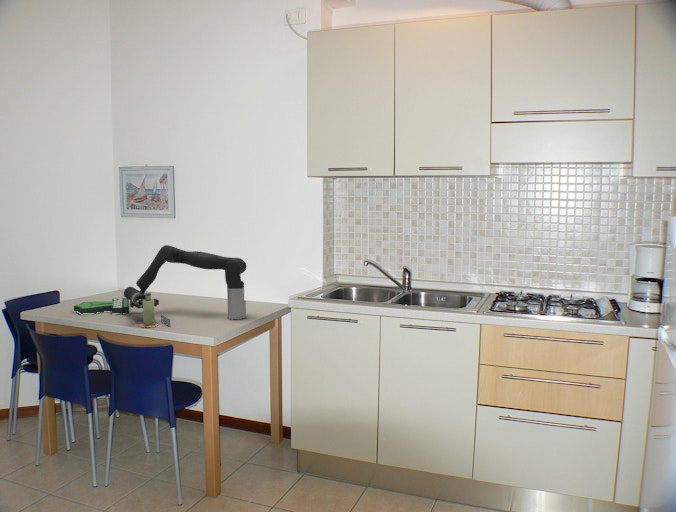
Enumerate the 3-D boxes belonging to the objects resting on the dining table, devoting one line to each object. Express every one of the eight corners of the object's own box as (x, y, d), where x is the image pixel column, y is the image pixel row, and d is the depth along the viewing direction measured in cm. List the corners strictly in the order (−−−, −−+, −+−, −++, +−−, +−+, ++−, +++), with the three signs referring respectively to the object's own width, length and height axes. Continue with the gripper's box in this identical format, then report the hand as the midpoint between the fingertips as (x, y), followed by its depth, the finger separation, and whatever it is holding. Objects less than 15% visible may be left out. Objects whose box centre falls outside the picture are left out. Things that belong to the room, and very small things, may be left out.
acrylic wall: (163, 321, 307) (162, 313, 306) (170, 326, 295) (170, 319, 294) (161, 321, 306) (161, 314, 306) (168, 326, 294) (168, 319, 294)
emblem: (129, 307, 324) (71, 311, 313) (129, 314, 324) (71, 318, 314) (128, 297, 352) (75, 301, 341) (128, 304, 352) (76, 307, 342)
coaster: (155, 323, 302) (155, 322, 302) (160, 326, 295) (160, 325, 294) (138, 325, 297) (138, 324, 297) (142, 328, 290) (142, 327, 290)
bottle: (153, 323, 300) (152, 291, 298) (156, 325, 295) (154, 293, 293) (142, 324, 297) (141, 292, 295) (145, 326, 292) (143, 294, 290)
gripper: (126, 294, 305) (133, 299, 292) (153, 292, 313) (161, 297, 299) (126, 308, 306) (133, 314, 293) (153, 305, 314) (161, 310, 300)
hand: (147, 305), depth 296 cm, fingers open, 8 cm apart
